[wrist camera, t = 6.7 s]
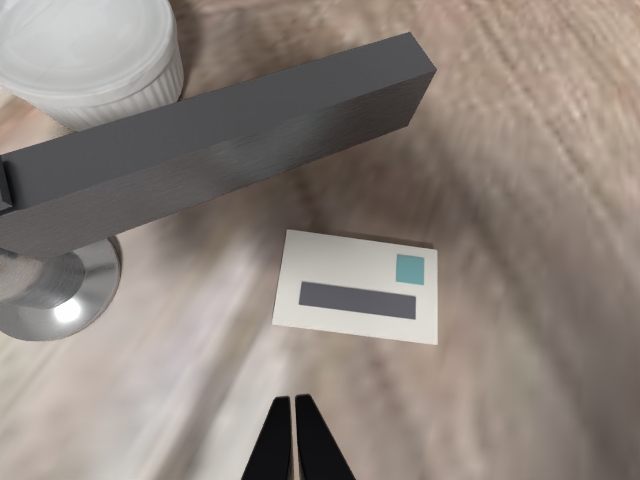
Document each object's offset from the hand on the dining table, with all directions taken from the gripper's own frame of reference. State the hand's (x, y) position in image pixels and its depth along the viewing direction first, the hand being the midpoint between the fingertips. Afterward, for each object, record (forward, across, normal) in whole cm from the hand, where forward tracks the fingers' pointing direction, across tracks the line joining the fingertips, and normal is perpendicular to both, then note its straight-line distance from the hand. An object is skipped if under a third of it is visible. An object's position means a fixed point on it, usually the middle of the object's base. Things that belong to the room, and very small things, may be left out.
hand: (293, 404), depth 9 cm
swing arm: (+11, +4, -3) cm, 12 cm away
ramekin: (+22, +12, -7) cm, 26 cm away
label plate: (+11, -4, +4) cm, 12 cm away
